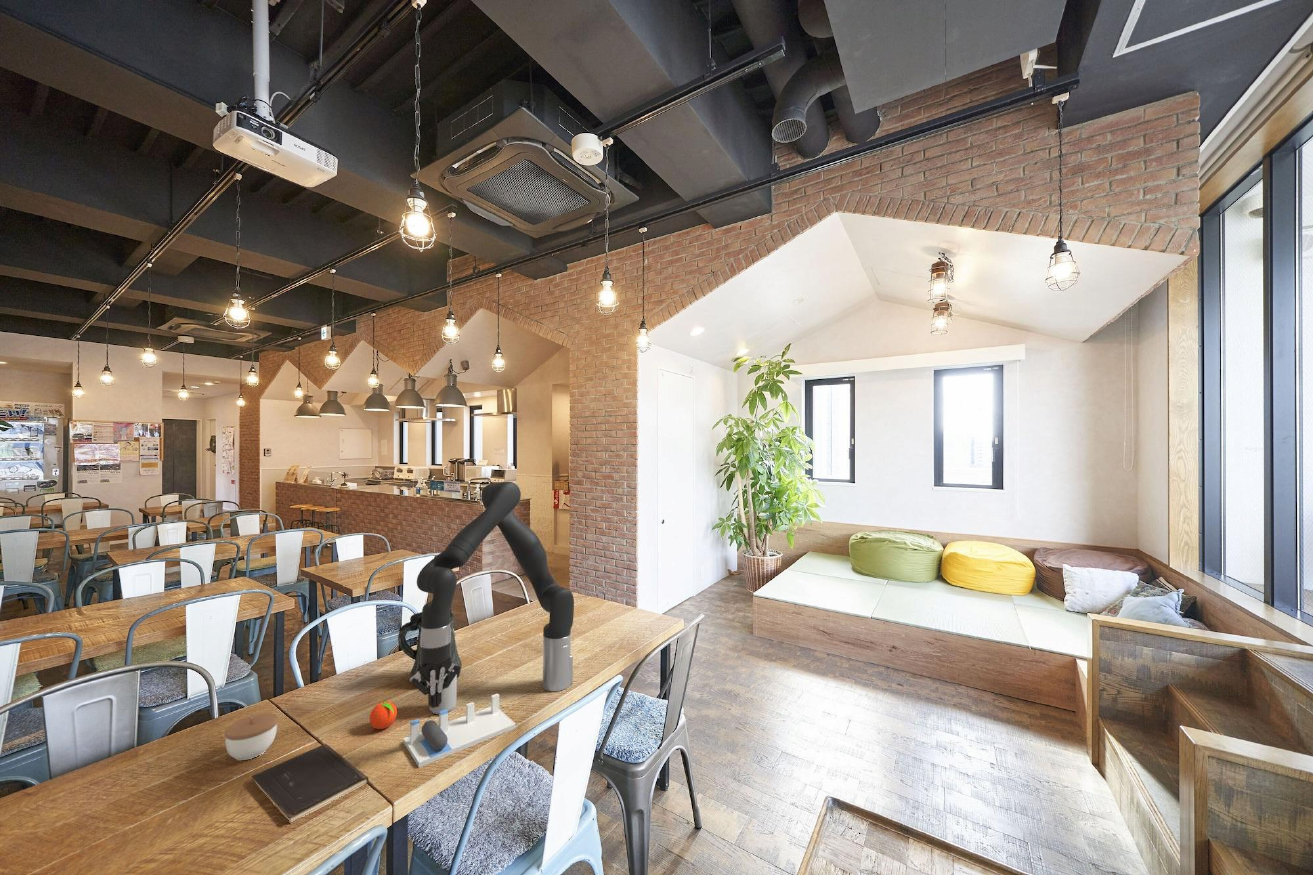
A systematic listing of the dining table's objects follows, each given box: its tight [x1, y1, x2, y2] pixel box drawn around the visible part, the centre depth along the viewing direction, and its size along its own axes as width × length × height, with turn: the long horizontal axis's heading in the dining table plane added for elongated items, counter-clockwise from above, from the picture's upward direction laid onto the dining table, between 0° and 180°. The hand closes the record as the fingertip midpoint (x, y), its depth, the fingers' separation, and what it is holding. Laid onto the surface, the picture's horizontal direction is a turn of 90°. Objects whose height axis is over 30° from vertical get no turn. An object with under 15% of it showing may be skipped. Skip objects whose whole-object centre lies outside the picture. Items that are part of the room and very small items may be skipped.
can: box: [429, 670, 458, 715], centre depth 149 cm, size 8×8×12 cm
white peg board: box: [402, 693, 517, 768], centre depth 135 cm, size 26×14×7 cm, turn 132°
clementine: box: [369, 700, 398, 730], centre depth 139 cm, size 8×7×7 cm
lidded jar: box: [224, 712, 279, 760], centre depth 127 cm, size 11×11×9 cm
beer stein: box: [397, 611, 463, 687], centre depth 169 cm, size 16×19×25 cm
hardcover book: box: [251, 743, 369, 823], centre depth 115 cm, size 16×23×2 cm
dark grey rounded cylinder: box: [421, 719, 448, 751], centre depth 129 cm, size 12×4×4 cm, turn 42°
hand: (434, 706), depth 129 cm, fingers closed
